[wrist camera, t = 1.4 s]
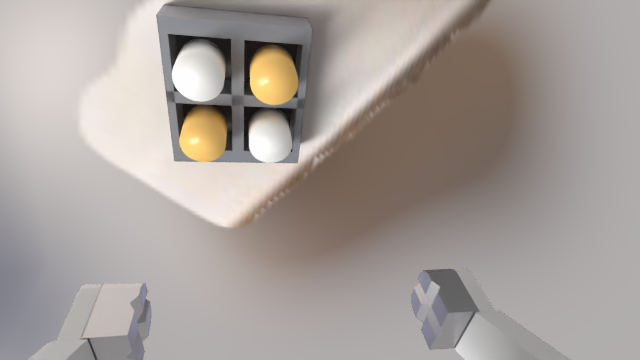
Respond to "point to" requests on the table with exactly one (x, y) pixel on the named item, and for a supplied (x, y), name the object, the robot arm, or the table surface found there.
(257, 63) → the button
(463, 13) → the table surface
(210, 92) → the button
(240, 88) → the grey egg tray
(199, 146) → the button
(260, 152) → the button
